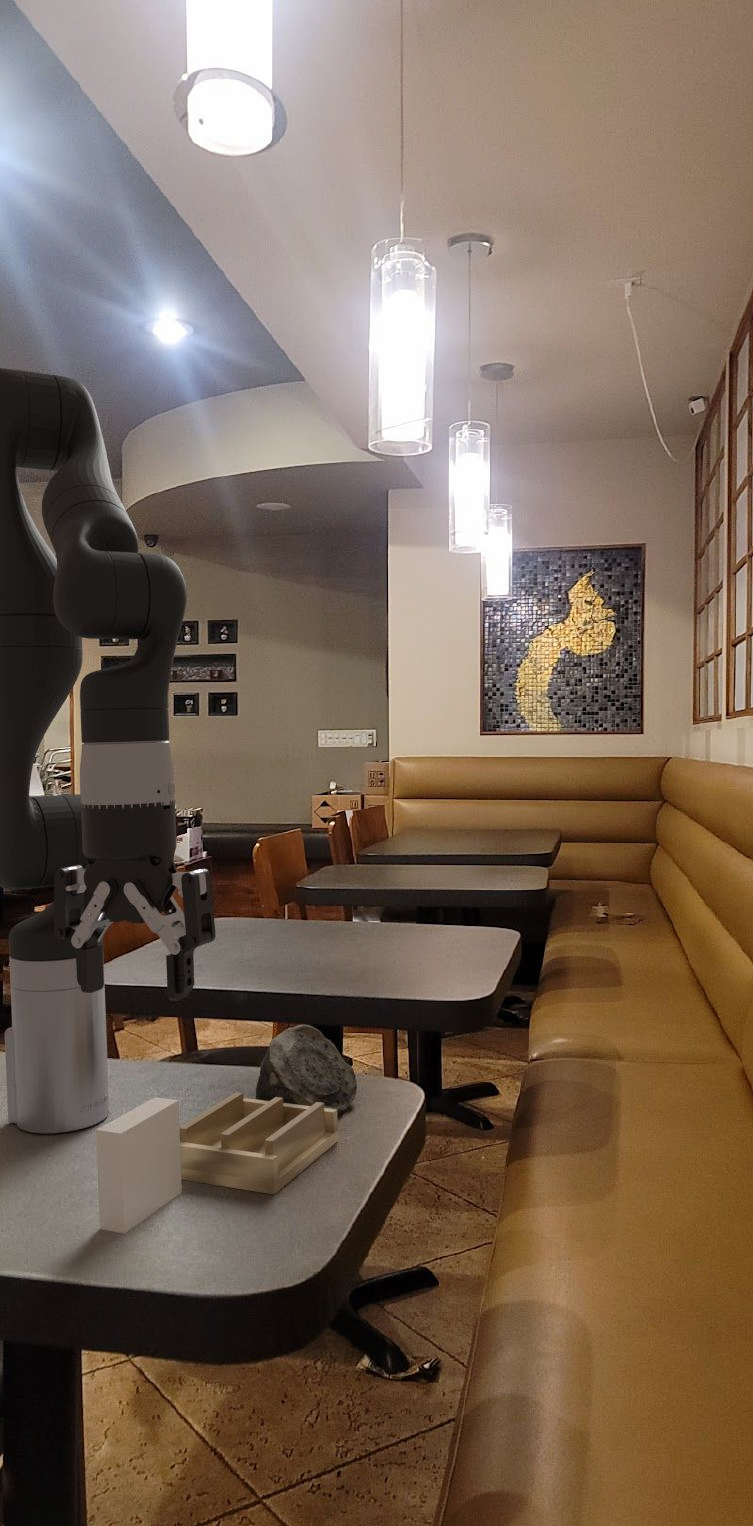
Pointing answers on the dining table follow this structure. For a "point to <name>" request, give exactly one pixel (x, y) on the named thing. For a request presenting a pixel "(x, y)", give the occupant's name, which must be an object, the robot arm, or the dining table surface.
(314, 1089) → the fossil
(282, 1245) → the dining table surface
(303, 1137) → the rack
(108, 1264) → the dining table surface
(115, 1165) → the upright cream slab
